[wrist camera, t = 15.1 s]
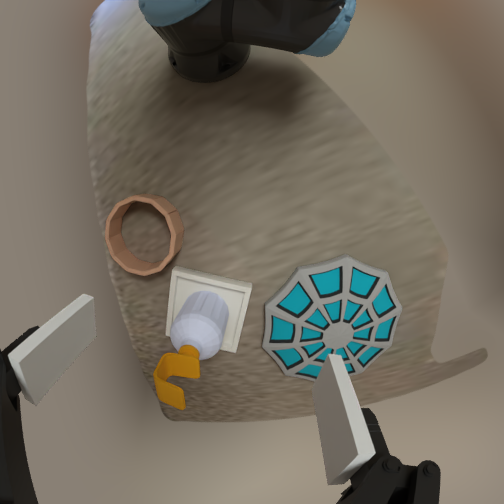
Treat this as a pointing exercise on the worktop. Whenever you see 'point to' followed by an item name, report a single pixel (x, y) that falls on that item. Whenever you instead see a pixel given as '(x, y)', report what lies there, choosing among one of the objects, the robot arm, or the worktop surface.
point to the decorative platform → (331, 317)
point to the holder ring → (117, 242)
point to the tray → (226, 288)
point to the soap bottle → (191, 343)
